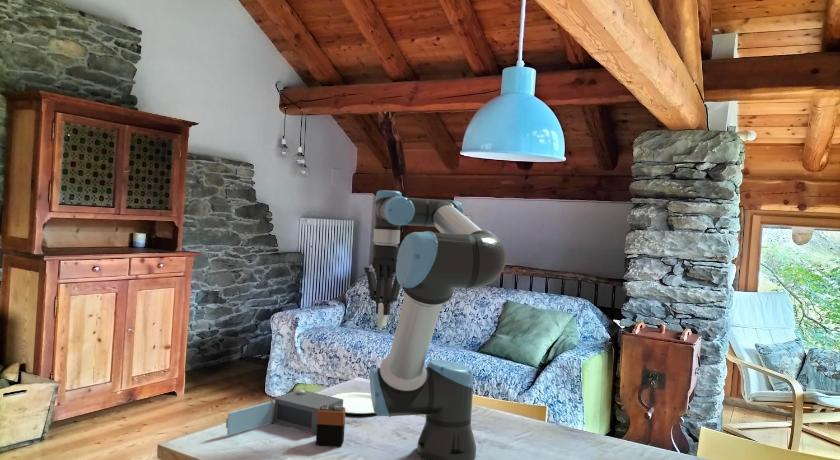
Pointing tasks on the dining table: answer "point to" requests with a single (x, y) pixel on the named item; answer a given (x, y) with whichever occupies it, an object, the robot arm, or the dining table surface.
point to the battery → (330, 426)
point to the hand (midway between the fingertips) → (382, 325)
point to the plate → (356, 402)
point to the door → (250, 417)
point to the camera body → (301, 409)
